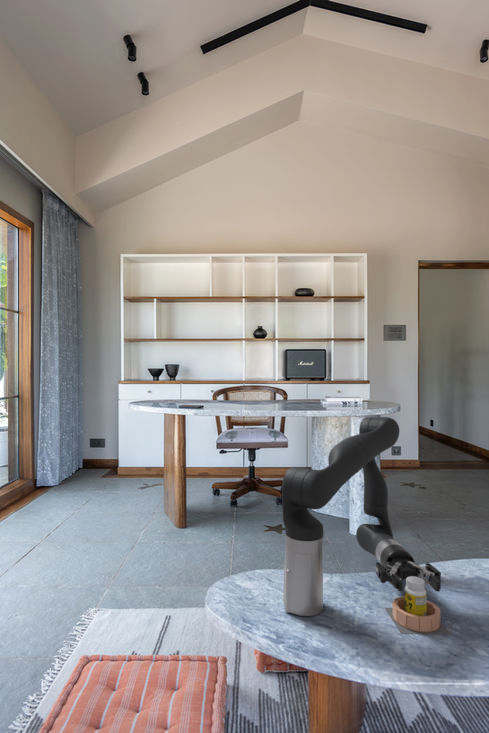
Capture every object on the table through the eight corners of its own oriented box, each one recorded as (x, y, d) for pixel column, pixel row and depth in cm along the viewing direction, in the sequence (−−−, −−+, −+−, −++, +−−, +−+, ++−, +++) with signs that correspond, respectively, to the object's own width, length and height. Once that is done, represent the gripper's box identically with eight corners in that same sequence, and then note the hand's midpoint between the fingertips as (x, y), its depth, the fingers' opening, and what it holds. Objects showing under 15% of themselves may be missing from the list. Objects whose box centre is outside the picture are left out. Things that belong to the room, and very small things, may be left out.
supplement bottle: (401, 612, 102) (400, 575, 102) (420, 611, 102) (419, 574, 103) (410, 623, 97) (410, 585, 97) (430, 622, 97) (430, 584, 98)
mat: (401, 635, 94) (401, 633, 94) (384, 608, 105) (384, 607, 105) (451, 635, 94) (451, 634, 94) (429, 609, 105) (429, 608, 105)
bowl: (402, 632, 94) (402, 618, 95) (387, 608, 104) (387, 595, 105) (448, 632, 95) (448, 618, 95) (428, 609, 105) (428, 596, 105)
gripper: (367, 543, 114) (388, 569, 98) (420, 544, 114) (450, 570, 98) (367, 572, 114) (388, 603, 98) (421, 573, 114) (451, 604, 98)
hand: (419, 587), depth 98 cm, fingers open, 8 cm apart
